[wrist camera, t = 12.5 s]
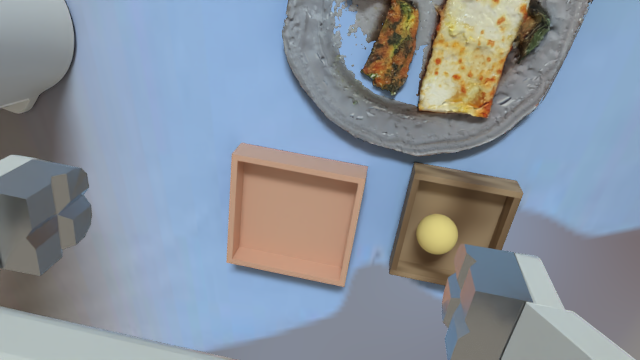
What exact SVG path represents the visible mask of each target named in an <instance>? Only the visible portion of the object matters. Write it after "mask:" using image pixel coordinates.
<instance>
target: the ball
mask: <svg viewBox="0 0 640 360" xmlns="http://www.w3.org/2000/svg"><path fill="white" fill-rule="evenodd" d="M416 236H417V240H418V243H419V244H420V246H421V247H422V248H423V249H424V250H425V251H427V252H429V253H431V254H444V253H447V252H449V251H450V250H451V249H452V248H453V247H454V246H455V244H456V242H457V239H458V230H457V227H456V225H455V223H454V222H453V221H452V220H451V219H450V218H449V217H447V216H445V215H442V214H432V215H428V216H426V217H425V218H423V219H422V220H421V222H420V223H419V225H418V227H417V231H416Z"/></svg>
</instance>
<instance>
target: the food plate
mask: <svg viewBox="0 0 640 360" xmlns="http://www.w3.org/2000/svg"><path fill="white" fill-rule="evenodd" d="M333 1H334V0H288V5H287V11H286V14H287V16H288V17H287V18H286V20H284V22H285V26H283V28H284V30H282V38H283V41H284V50H285V54H286V56H287V60H288V63H289V65H290V67H291V69H292V72H293V73H294V75H295V76H296V78H297V79H298V81H299V83H300V85H301V87H302V88H303V89H304V90H305V92H306V93H307V94H308V95H309V97H310V98H312V100H313V101H314V103H316V105H317V106H318V107H319V108H320V110H321V111H322V112H323V113H325V114H324V115H325V116H326V117H327V118H329V119H330V120H331V121H333V122H334V123H335V124H336V125H338V126H339V127H341V128H342V129H343V130H345V131H347V132H349V133H350V134H351V135H353V136H354V138H361V139H363V140H364V141H367V142H369V143H372V144H375V145H378V146H382V147H385V148H389V149H393V150H396V151H400V152H403V153H406V154H411V155H413V156H429V155H434V154H436V155H437V154H441V153H455V152H457V153H458V152H459V151H462V150H466V149H471V148H473V147H477V146H480V145H483V144H484V143H488V142H490V141H492V140H494V139H496V138H498V137H499V136H502V134H505V133H506V132H507V131H508V130H511V129H512V128H513V127H514V126H515V125H516V124H517V123H518V122H519V121H521V120H522V119H523V118H524V117H525V116H527V115H528V114H530V113H531V112H532V111H534V109H535V108H536V107H537V106H538V105H539V102H540V100H541V98H542V97H543V96H544V95H545V96H546V94H547V93H548V91H549V89H550V87H551V85H552V83H553V81H554V79H555V78H556V76H557V74H558V72H559V70H560V68H561V66H562V64H563V61H564V60H565V58H566V56H567V54H568V51H569V50H570V48H571V46H572V43H573V41H574V39H575V37H576V35H577V33H578V31H579V29H580V27H581V25H582V23H583V22H582V21H583V20H584V18H583V17H584V15H585V16H586V14H587V12H588V10H589V9H587V7H588V6H589V5H588V3H589V2H591V3H592V1H593V0H352V1H353V3H352V5H350V7H349V11H353V12H354V11H358V12H357V14H356V20H355V24H354V25H350V27H349V29H348V30H349V33H347V34H348V36H350V35H351V33H353V32H354V33H355V32H357V28H358V27H360V28H361V30H362V32H363V36H364V35H365V34H367V38H366V41H367V42H368V43H370V42H371V41H376V42H375V43H374V46H373V48H372V51H371V54H370V55H369V58H368V60H367V62H366V63H365V66H364V68H363V69H361V71H360V72H361V73H364V74H366V75H368V76H369V77H371V78H372V79H373V85H375V86H376V87H380V88H382V89H384V90H385V89H386V90H387V91H390V92H391V95H392V96H393V95H395V94H396V93H397V91H398V90H399V88H400V87H401V86H402V85H403V84H404V83H405V82H406V79H407V77H408V75H407V72H408V70H409V67H408V66H409V64H410V63H411V61H412V57H413V55H414V52H415V50H419V46H421V45H426V44H428V46H426V47H425V48H424V49H423V52H424V55H423V64H422V71H421V73H420V74H419V78H421V80H420V82H419V90H418V94H416V96H420V99H419V102H418V107H416V106H415V105H411V104H406V103H403V102H400V101H396V100H393V99H389V98H387V97H384V96H382V95H380V96H379V95H377V94H374V93H373V92H372V91H370V90H369V89H368V88H366V87H364V85H362V82H361V81H359V80H356V79H355V74H354V73H353V72H352V71H350V70H348V69H347V68H346V65H345V64H344V63H345V60H344V57H346V56H344V55H340V53H339V49H338V48H340V47H341V44H342V42H340V40H341V38H342V37H341V36H340V31H336V34H333V30H334V28H337V27H341V25H340V24H339V26H335V19H334V17H335V16H337V17H338V19H339V16H340V17H341V15H342V9H345V7H347V6H348V5H347V0H335V2H336V3H337V4H336V6H335V7H334V13H332V11H331V7H332V3H333ZM344 1H346V3H345V6H344V5H342V9H339V10H338V13H337V12H336V9H337V7H340V2H344ZM431 1H432V2H431ZM356 4H357V5H358V7H357V6H356ZM589 8H590V7H589ZM346 11H347V10H346ZM336 14H337V15H336ZM382 15H383V16H382ZM339 21H340V20H339ZM382 23H383V25H382ZM579 26H580V27H579ZM352 27H354V29H353V28H352ZM578 28H579V29H578ZM577 29H578V31H577ZM576 32H577V33H576ZM575 33H576V34H575ZM354 36H355V34H354ZM369 37H370V38H369ZM355 38H356V37H355ZM342 40H343V39H342ZM356 45H357V44H356ZM361 45H362V44H361ZM364 47H365V46H364ZM365 49H366V48H365ZM415 55H416V53H415ZM352 66H354V65H352ZM556 72H557V73H556ZM554 76H555V77H554ZM553 78H554V79H553ZM552 80H553V81H552ZM551 82H552V83H551ZM550 84H551V85H550ZM549 86H550V87H549ZM548 88H549V89H548ZM382 89H381V90H382ZM547 89H548V91H547ZM546 91H547V92H546ZM545 93H546V94H545ZM545 96H544V98H545ZM544 98H543V100H544ZM543 100H542V101H543ZM540 104H541V103H540ZM536 110H537V109H536ZM358 140H359V139H358Z"/></svg>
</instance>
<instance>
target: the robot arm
mask: <svg viewBox="0 0 640 360" xmlns="http://www.w3.org/2000/svg"><path fill="white" fill-rule="evenodd" d="M73 51H74V31H73V25H72V20H71V17H70V13H69V10H68V8H67V5H66V3H65V1H64V0H0V108H3V109H5V110H8V111H10V112H13V113H17V114H19V113H23V112H27V111H29V110H30V109H31V108H32V107H33V105H34V104H35V102H36V100H37V98H38V96H39V95H40V94H41V93H42V92H44V91H45V90H47V89H49V88H51V87H52V86H54V85H55V84H57V83H58V82H59V81H60V80H61V79H62V78H63V77H64V75H65V74H66V72H67V70H68V68H69V66H70V64H71V61H72V57H73ZM88 188H89V184H88V178H87V173H86V172H85V171H84V170H83V169H82V168H78V167H73V166H69V165H64V164H59V163H55V162H50V161H46V160H41V159H37V158H32V157H27V156H21V155H10V156H8V157H6V158H4V159H2V160H0V271H1V269H5V270H11V271H16V272H21V273H27V274H32V275H37V276H41V275H42V274H43V273H45V272H46V271H47V270H48V269H49V268H50V267H51V266H53V265H54V264H55V263H56V262H57V261H58V260H59V259H61V258H62V249H65V248H68V247H71V246H74V245H76V244H77V243H79V242H80V241H81V240H82V239H83V238H84V237H85V235H86V233H87V231H88V229H89V227H90V225H91V218H92V210H91V204H90V203H89V202H88V200H87V199H86V198H85V196H84V194H85V192H86V191H87V189H88ZM454 265H455V271H456V272H455V273H454V274H452V275H451V276H450V277H448V279H447V283H446V286H445V290H444V295H443V301H442V319H443V323H444V324H445V325H446V326H447V327H448V331H447V334H446V337H445V343H446V351H447V359H448V360H635V359H634V358H633V357H631V356H630V355H629V354H628V353H626V352H625V351H624V350H623V349H621V348H620V347H618V346H617V345H616V344H615V343H613V342H612V341H611V340H610V339H608V338H607V337H606V336H604V335H603V334H602V333H600V332H599V331H598V330H597V329H595V328H594V327H593V326H591V325H590V324H589V323H587V322H586V321H585V320H584V319H582V318H581V317H580V316H578V315H577V314H576V313H574V312H573V311H569V310H565V309H564V307H563V305H562V303H561V301H560V299H559V296H558V294H557V292H556V290H555V288H554V286H553V284H552V282H551V280H550V278H549V276H548V274H547V272H546V270H545V267H544V266H543V264H542V261H541V259H540V258H538V257H537V256H533V255H526V254H520V253H514V252H508V251H502V250H497V249H491V248H485V247H479V246H473V245H468V244H460V246H459V248H458V249H457V252H456V255H455V258H454ZM0 360H237V359H232V358H228V357H223V356H219V355H214V354H210V353H206V352H201V351H197V350H192V349H188V348H183V347H179V346H174V345H170V344H166V343H161V342H157V341H152V340H148V339H143V338H139V337H135V336H130V335H126V334H121V333H117V332H112V331H108V330H104V329H99V328H95V327H90V326H86V325H82V324H77V323H73V322H68V321H64V320H59V319H55V318H51V317H46V316H42V315H37V314H33V313H28V312H24V311H20V310H15V309H11V308H6V307H2V306H0Z"/></svg>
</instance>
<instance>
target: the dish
mask: <svg viewBox="0 0 640 360" xmlns="http://www.w3.org/2000/svg"><path fill="white" fill-rule="evenodd" d="M367 168H368V166H363V165H357V164H352V163H347V162H341V161H336V160H331V159H325V158H320V157H315V156H309V155H304V154H298V153H293V152H288V151H282V150H277V149H272V148H266V147H261V146H256V145H250V144H245V143H241V144H240V145H239V146H238V147H237V149H236V150H235V151H234V152H233V153H232V162H231V183H230V203H229V224H228V244H227V263H232V264H236V265H241V266H246V267H251V268H256V269H260V270H265V271H270V272H275V273H279V274H284V275H289V276H294V277H299V278H303V279H308V280H313V281H318V282H323V283H327V284H332V285H337V286H342V287H344V285H345V280H346V275H347V270H348V265H349V260H350V255H351V250H352V245H353V240H354V235H355V230H356V225H357V220H358V215H359V211H360V206H361V201H362V196H363V191H364V186H365V181H366V174H367Z"/></svg>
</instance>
